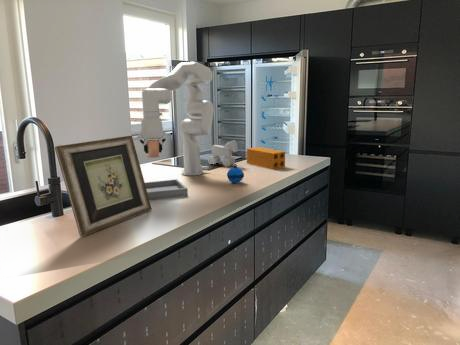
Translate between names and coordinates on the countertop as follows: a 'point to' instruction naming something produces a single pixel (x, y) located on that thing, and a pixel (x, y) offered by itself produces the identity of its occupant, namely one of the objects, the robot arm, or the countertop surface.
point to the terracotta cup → (153, 148)
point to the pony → (223, 154)
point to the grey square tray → (165, 189)
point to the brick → (266, 158)
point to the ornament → (235, 174)
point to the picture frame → (103, 182)
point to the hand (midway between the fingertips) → (153, 152)
